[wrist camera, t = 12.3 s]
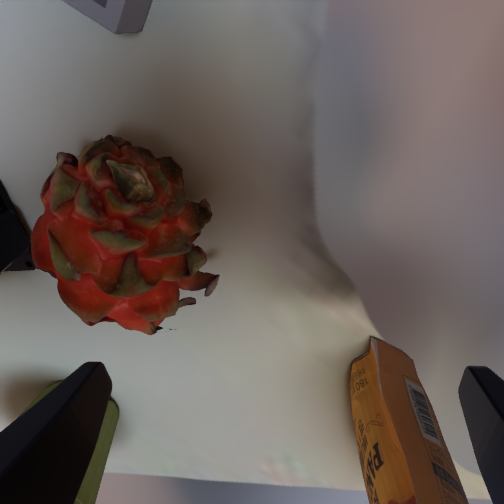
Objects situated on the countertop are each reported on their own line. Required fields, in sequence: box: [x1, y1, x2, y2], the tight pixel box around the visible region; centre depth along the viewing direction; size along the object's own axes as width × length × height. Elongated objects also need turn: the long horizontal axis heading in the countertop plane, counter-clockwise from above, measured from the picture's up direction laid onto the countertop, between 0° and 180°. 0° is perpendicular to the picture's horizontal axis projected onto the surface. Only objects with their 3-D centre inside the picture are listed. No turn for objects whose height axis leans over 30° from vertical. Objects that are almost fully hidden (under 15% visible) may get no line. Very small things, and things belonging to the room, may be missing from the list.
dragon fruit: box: [31, 135, 220, 335], centre depth 19 cm, size 8×8×12 cm
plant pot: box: [19, 381, 119, 504], centre depth 29 cm, size 12×12×11 cm
